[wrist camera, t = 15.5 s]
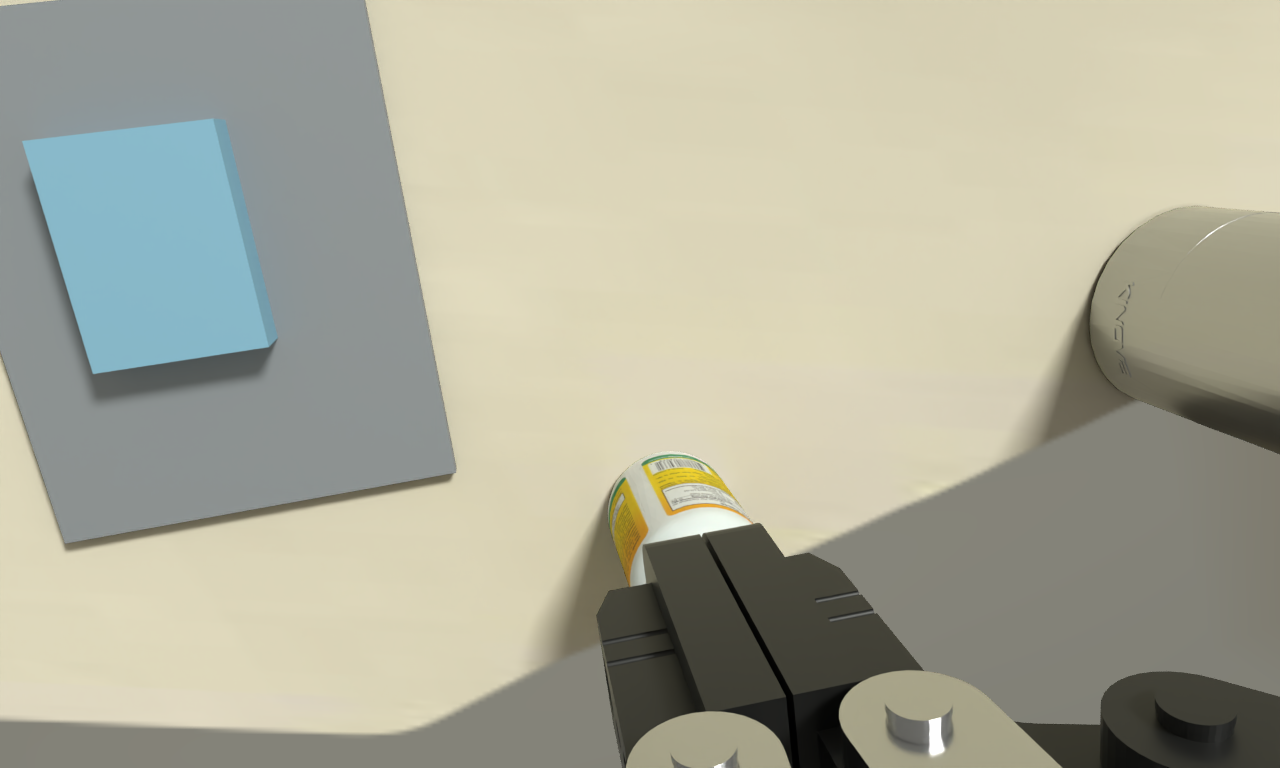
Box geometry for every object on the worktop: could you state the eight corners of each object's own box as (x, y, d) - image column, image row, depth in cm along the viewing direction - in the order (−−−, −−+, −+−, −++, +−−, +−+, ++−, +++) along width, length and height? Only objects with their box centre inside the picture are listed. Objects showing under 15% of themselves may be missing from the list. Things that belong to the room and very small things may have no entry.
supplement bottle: (678, 423, 38) (743, 510, 29) (746, 511, 40) (828, 619, 31) (579, 500, 39) (614, 610, 29) (652, 584, 40) (705, 713, 31)
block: (212, 118, 30) (21, 140, 29) (268, 347, 32) (92, 374, 32) (225, 119, 32) (43, 141, 31) (277, 337, 34) (110, 363, 33)
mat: (359, -27, 32) (357, -31, 31) (456, 467, 37) (456, 472, 37) (-101, 20, 30) (-113, 17, 29) (71, 536, 35) (64, 543, 34)
